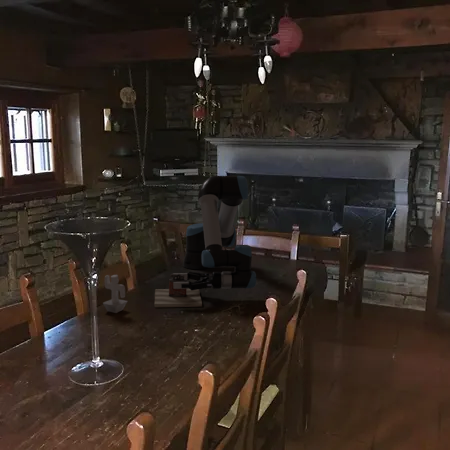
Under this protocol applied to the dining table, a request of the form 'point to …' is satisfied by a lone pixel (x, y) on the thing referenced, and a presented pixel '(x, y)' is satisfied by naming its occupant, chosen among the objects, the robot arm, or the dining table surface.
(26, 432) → the dining table surface
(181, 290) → the lighter
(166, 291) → the board
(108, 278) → the figurine
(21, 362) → the dining table surface
